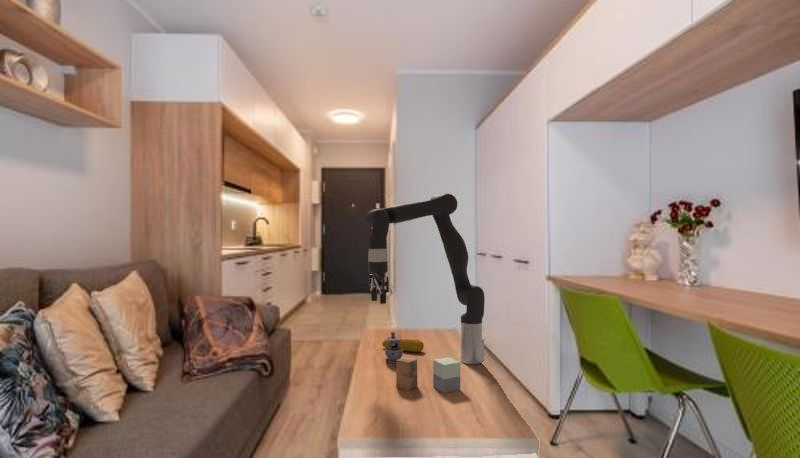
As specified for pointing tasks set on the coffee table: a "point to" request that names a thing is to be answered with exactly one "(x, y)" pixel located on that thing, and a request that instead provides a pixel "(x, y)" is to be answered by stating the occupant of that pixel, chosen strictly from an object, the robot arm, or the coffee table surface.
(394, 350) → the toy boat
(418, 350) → the food
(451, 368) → the tower top
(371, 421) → the coffee table surface
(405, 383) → the walnut block
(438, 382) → the tower base
